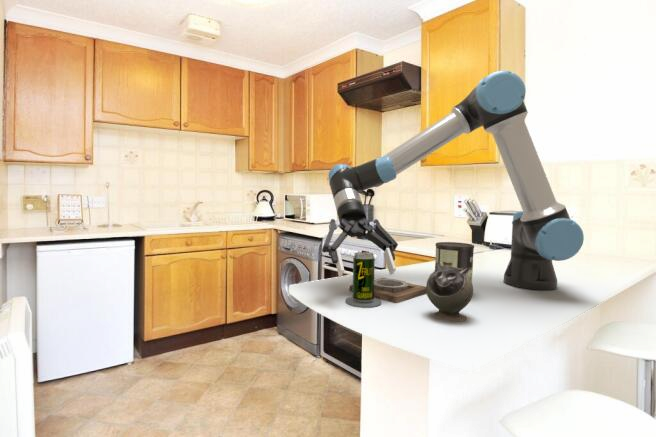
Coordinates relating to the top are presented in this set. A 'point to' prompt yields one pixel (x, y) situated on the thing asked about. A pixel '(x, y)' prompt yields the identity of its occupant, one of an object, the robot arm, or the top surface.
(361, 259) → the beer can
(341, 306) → the top surface
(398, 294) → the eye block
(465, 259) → the coffee can
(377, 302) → the coaster
